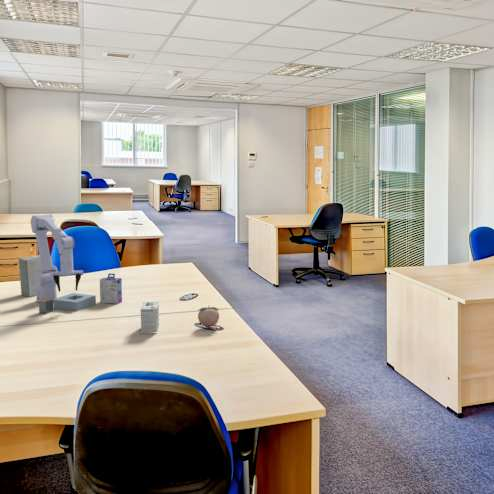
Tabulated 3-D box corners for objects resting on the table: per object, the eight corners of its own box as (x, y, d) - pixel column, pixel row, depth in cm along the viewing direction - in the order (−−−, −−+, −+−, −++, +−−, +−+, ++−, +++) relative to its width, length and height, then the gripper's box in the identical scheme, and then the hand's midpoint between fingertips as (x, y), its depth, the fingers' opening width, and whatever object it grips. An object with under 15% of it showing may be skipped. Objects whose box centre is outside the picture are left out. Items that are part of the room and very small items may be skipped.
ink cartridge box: (122, 301, 265) (122, 273, 262) (118, 304, 259) (117, 275, 257) (104, 300, 267) (104, 272, 264) (99, 302, 261) (98, 274, 259)
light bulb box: (143, 325, 225) (143, 301, 223) (159, 325, 226) (158, 301, 224) (140, 334, 214) (140, 308, 213) (157, 333, 215) (156, 308, 213)
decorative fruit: (201, 332, 217) (201, 309, 216) (195, 326, 225) (195, 304, 223) (222, 329, 221) (222, 306, 220) (216, 323, 229) (216, 302, 227)
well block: (53, 307, 252) (53, 299, 251) (73, 300, 264) (73, 292, 264) (77, 311, 246) (76, 302, 246) (95, 303, 259) (95, 295, 259)
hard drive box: (46, 289, 288) (44, 254, 284) (54, 291, 283) (52, 255, 280) (20, 295, 275) (18, 258, 272) (28, 297, 271) (26, 259, 268)
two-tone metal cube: (39, 313, 243) (38, 299, 242) (47, 310, 247) (46, 297, 246) (46, 314, 241) (45, 300, 240) (53, 311, 246) (53, 298, 245)
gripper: (49, 264, 238) (51, 293, 241) (82, 263, 243) (84, 291, 245) (50, 262, 245) (52, 289, 247) (82, 260, 249) (83, 287, 252)
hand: (68, 290), depth 247 cm, fingers open, 7 cm apart
